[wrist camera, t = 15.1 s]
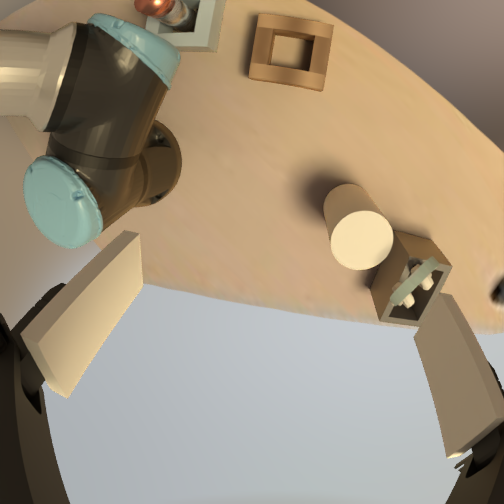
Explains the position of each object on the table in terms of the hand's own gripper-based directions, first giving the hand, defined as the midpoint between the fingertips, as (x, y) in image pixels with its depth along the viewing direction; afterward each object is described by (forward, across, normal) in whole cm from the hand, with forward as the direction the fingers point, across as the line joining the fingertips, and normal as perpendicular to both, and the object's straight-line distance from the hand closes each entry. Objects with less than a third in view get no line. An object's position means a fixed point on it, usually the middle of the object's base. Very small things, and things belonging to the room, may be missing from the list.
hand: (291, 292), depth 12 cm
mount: (+35, -3, +15) cm, 38 cm away
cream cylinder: (+35, +10, -7) cm, 37 cm away
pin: (+35, -19, +19) cm, 44 cm away
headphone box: (+35, +23, -15) cm, 44 cm away
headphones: (+32, +25, -19) cm, 45 cm away
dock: (+35, -19, +19) cm, 44 cm away
